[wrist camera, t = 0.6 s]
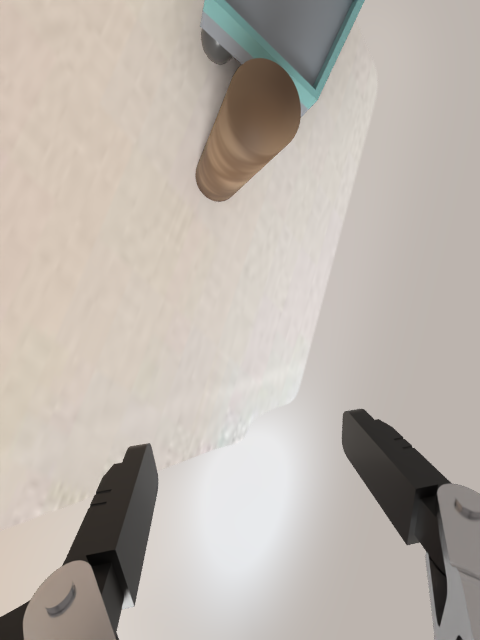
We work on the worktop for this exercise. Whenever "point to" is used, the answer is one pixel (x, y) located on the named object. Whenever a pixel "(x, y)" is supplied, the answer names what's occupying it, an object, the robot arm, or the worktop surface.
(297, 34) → the wheeled cart
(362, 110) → the worktop surface
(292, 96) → the cylinder
